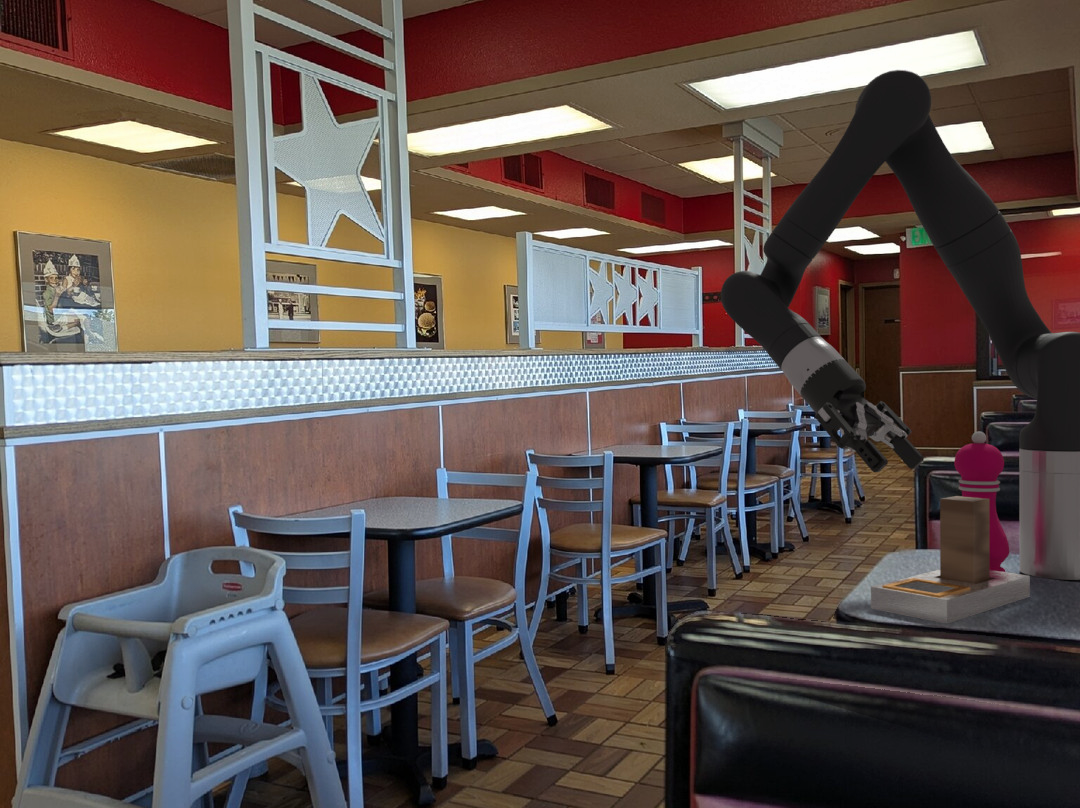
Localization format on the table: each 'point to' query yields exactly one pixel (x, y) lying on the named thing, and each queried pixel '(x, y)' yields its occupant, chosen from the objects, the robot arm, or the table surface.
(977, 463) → the pepper mill
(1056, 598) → the table surface
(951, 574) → the peg
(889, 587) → the white socket base
